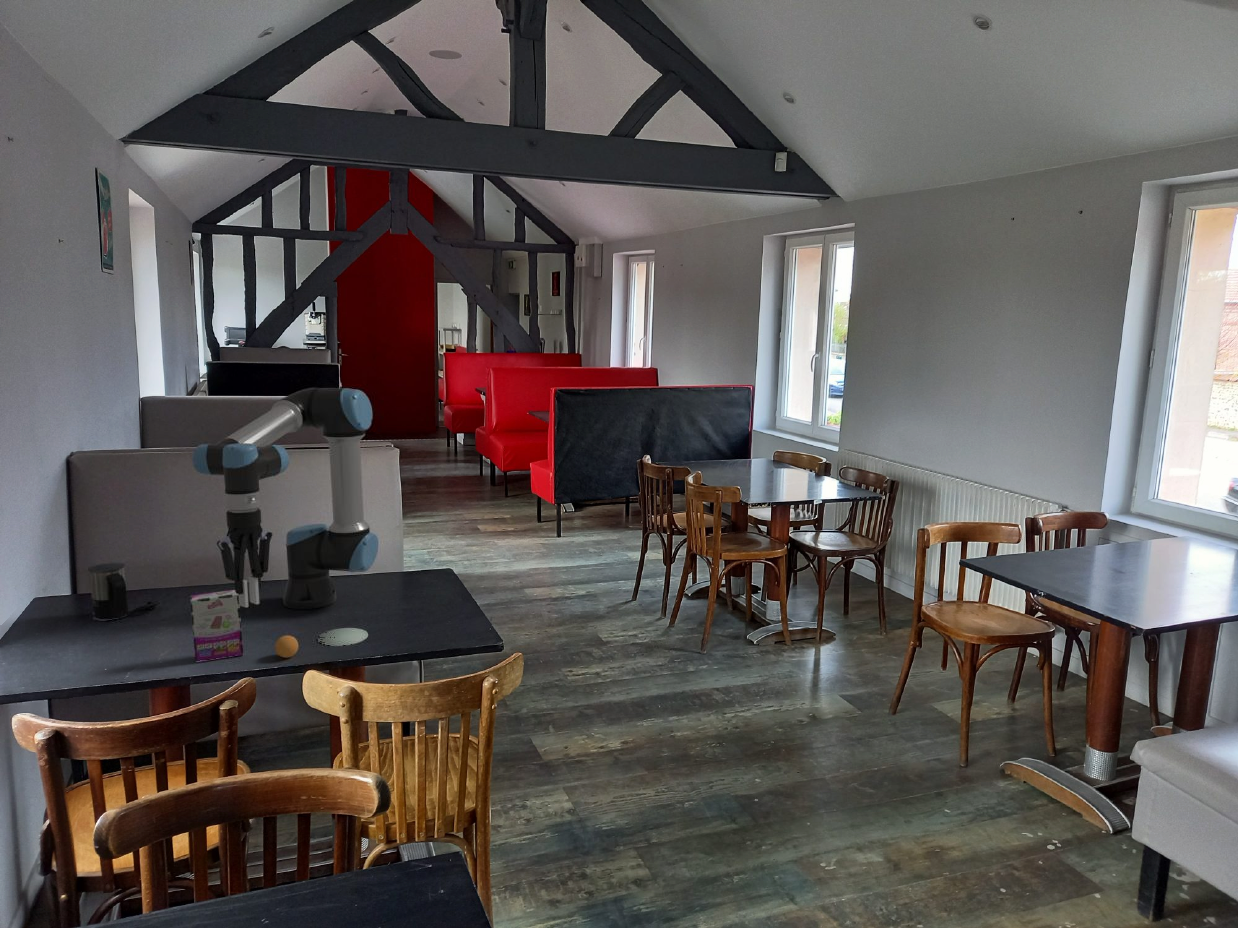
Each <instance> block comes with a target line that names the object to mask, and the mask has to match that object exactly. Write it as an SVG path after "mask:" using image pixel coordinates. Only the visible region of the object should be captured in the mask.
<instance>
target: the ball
mask: <svg viewBox="0 0 1238 928" xmlns="http://www.w3.org/2000/svg"><path fill="white" fill-rule="evenodd" d="M274 645H275V647H274V648H275V649H274V650H275V652H276V654H277V655H278V656H279V657H281V658H286V659H287V658H291V657H293V656H295V654H296V653H297V651H298V650H299V643H298V640H297V638H295V637H294V636H292V635H287V634H286V635H282V636H281V637H279V638H278V639H277V640H276V642H275V644H274Z"/></svg>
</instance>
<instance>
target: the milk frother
mask: <svg viewBox="0 0 1238 928" xmlns="http://www.w3.org/2000/svg"><path fill="white" fill-rule="evenodd" d="M125 567H126V564H125V563H123V562H106V563H100V564H95V565H91V566H90V567H88V568H87V571H88V574H89V575H88V576H89V582H90V583H89V584H90V585H89V586H90V594H91V603H92V617H93V616H94V617H96V618H99V619H113V618H120V617H122V616H125V615H128V613H130V614H132V613H133V614H134V613H135V612H138V611H141V610H144V609H148V610H149V609H151V608H154V607H155V608H156V607H157V606H158V605H160V604H162V600H158V601H157V600H153V599H151V600H147V601H146V602H145V604H144V605H141V606H138V607H136V608H134V609H132V610H129V606H128V598H127V584H126V574H125V573H126V572H125ZM155 608H154V609H155ZM151 610H152V609H151ZM128 616H129V615H128Z"/></svg>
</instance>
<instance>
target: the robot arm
mask: <svg viewBox="0 0 1238 928" xmlns="http://www.w3.org/2000/svg"><path fill="white" fill-rule="evenodd" d="M372 408H373V407H372V404H371V402H370V399H369V397H368V396H367V395H366V393H365V392H364V391H362V390H360V389H356V388H355V389H353V388H347V387H346V388H345V387H343V388H342V387H341V388H339V387H337V388H336V387H309V388H305V389H301V390H298V391H296V392H294V393H291V394H288V395H287V396H284V397H282V398H281V399H279V400H278V401H275V403H273V404H272V405H271V409H270V410H269V411H267V412H265V413H264V414H262V415H260V416H258V418H256V419H254V420H252V421H251V422H250V423H248V424H246V425H244V426H243V427H241V428H240V429H238V430H236V431H235V432H233V433H232V434H229V436H226V437H225V438H224V439H222V440H220V441H218V442H217V443H213V444H212V443H207V444H205V443H204V444H203V443H202V444H200V445H197V446H196V448H195V449H194V450H193V453H192V458H191V459H192V466H193V468H194V470H195V471H196V472H197V473H199V474H202V475H203V474H204V475H210V476H223V478H224V479H223V481H224V494H225V495H224V496H225V497H224V499H225V501H224V502H225V509H226V510H227V511H226V513H225V514H226V516H225V517H226V527H227V533H226V537H225V538H224V539H221V540H217V542H216V545H217V547H218V548H219V550H220V553H221V559H222V565H223V568H224V573H225V574H224V575H225V578H226V580H230V581H233V582H234V590H235V592H236V594H238V595H239V605H240V607H243V608H248V607H249V603H251V604H254V605H259V604H260V592H259V590H260V589H261V588H262V580H261V578H263V576H264V574H265V573H268V571H269V563H270V562H269V561H270V545H271V540H272V538H273V536H274V535H273V532H271V531H268V530H264V529H263V528H262V525H261V524H262V512H261V509H260V507H261V500H260V499H261V498H260V497H261V496H260V494H261V493H260V480H264V479H267V478H268V479H269V478H272V477H276V476H278V475H280V474H282V473H284V472H285V471H286V470H287V469H288V468H289V464H290V457H289V453H288V451H287V450H286V448H284V447H283V446H281V445H279V444H272V443H274V442H276V441H277V440H279V439H280V438H282V437H283V436H284V435H286V434H288V433H291V434H292V433H295V432H297V431H299V430H301V429H309V428H310V429H313V428H314V429H322V437H323V438H324V439H325V440H326V441H328V450H329V468H330V485H331V498H332V499H331V502H332V506H331V507H332V521H333V522H332V523H331V524H330V525H329V526H328V525H327V523H326V524H325V523H314V524H313V523H312V524H305V525H302V526H298V527H294V528H292V529H290V530H288V532H287V533H286V540H285V541H286V543H285V546H286V558H287V559H286V560H287V561H286V562H287V577H288V578H287V581H286V586H285V590H284V593H283V595H282V601H283V602H282V603H283V606H285V607H286V608H289V609H294V610H312V609H319V608H323V607H327V606H329V605H331V604H334V603H335V602H336V601H337V591H336V588H335V586H334V584H333V580H332V578H331V576H330V571H336V572H337V571H338V572H349V573H364V572H367V571H368V570H369V569H370V568H371V567H372V566H373V565H374V563H375V561H376V558H377V555H378V552H379V539H378V536H377V534H376V533H373V532H371V531H370V529H371V528H370V524H369V523H368V522H367V521H365V519H364V518H365V517H364V499H363V498H364V496H363V494H364V493H363V479H362V478H363V474H362V473H363V472H362V455H361V440H362V439H363V438H364V437H365V436H366V431H367V430H368V429H370V427H371V425H372V421H373V409H372ZM258 541H259V542H258ZM231 547H232V548H231ZM232 550H233V553H232ZM246 552H247V553H246ZM246 554H247V555H248V562H249V568H250V574H251V575H249V576H248V580H247V579H244V578H245V557H246V556H245V555H246ZM248 594H249V595H248Z"/></svg>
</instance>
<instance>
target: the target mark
mask: <svg viewBox="0 0 1238 928" xmlns="http://www.w3.org/2000/svg"><path fill="white" fill-rule="evenodd" d="M326 632H327V633H325V632H322V633H321V634H319V635H318V636H320V637H325V638H320V639H323V640H320V639H319V638H318V637H317V639H318V641H317V643H319V642H320V641H322V642H325V643H322V644H321V645H323V644H325V645H324V646H327V645H330V646H329V647H344V646H343V645H346V646H350V645H351V644H352V645H356V644H358V643H360V642H361V643H362V642H363V641H364V640H366V639H367V638H368V636H369V634H368V632H367V631H366V630H365V629H361V628H356V627H344V628H343V627H340V628H334V629H332V630H331V629H329V630H327V631H326ZM330 637H331V638H330ZM334 637H335V638H334Z"/></svg>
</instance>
